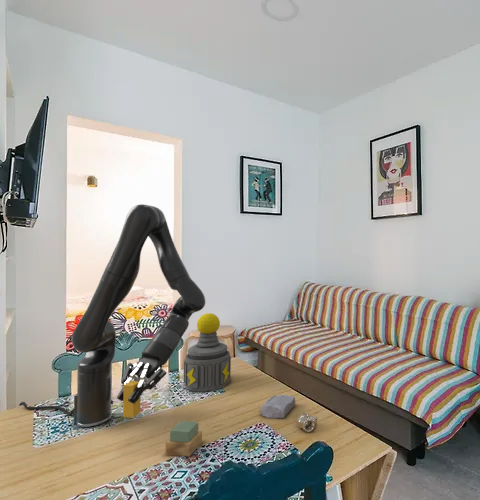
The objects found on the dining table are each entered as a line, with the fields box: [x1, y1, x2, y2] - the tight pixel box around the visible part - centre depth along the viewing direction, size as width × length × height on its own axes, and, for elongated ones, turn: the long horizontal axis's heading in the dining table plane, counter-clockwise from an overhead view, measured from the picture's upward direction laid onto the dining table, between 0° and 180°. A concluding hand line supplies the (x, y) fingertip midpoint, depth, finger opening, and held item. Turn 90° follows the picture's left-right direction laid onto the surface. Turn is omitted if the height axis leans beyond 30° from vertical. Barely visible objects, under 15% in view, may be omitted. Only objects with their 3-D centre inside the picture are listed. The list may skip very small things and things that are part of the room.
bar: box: [122, 380, 141, 418], centre depth 99 cm, size 3×3×9 cm
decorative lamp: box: [183, 312, 232, 393], centre depth 148 cm, size 19×19×30 cm
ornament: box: [296, 411, 318, 433], centre depth 115 cm, size 8×7×4 cm
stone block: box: [260, 394, 296, 419], centre depth 126 cm, size 12×5×10 cm
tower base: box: [165, 430, 203, 457], centre depth 101 cm, size 7×7×4 cm
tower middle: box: [169, 420, 199, 442], centre depth 101 cm, size 6×6×3 cm
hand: (125, 400), depth 97 cm, fingers closed on bar, 3 cm apart
